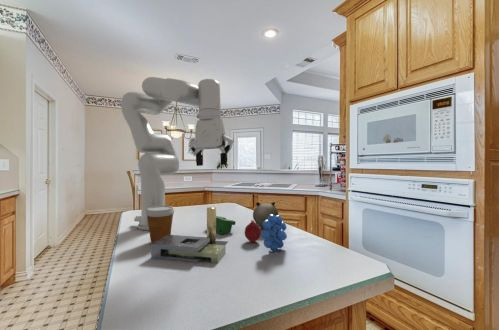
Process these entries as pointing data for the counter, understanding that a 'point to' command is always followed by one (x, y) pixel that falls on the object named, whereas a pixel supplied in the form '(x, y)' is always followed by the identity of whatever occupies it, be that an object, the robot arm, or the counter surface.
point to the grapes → (274, 232)
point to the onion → (252, 231)
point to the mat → (221, 242)
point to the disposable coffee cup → (159, 221)
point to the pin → (211, 225)
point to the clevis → (186, 249)
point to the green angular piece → (223, 225)
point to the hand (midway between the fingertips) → (211, 165)
